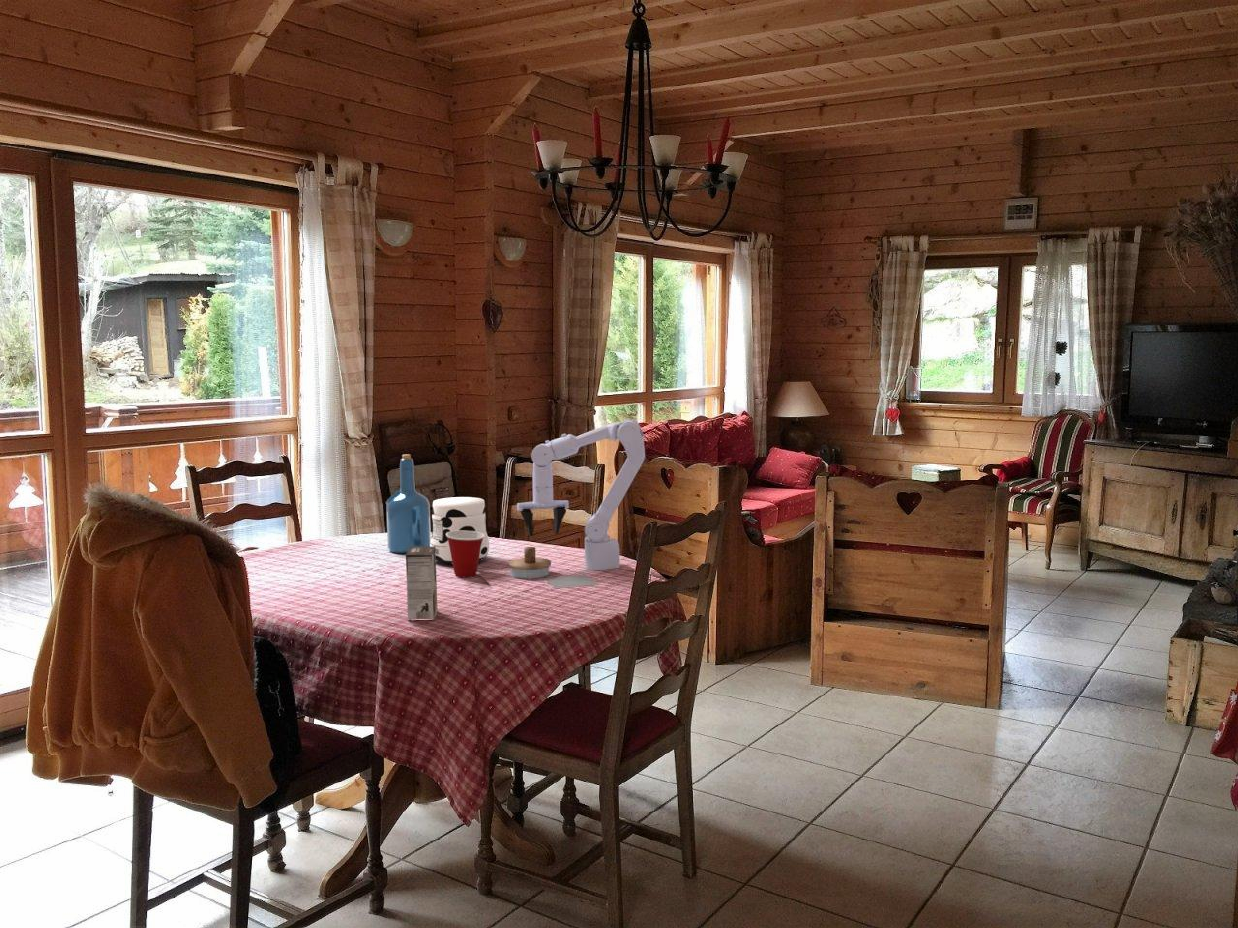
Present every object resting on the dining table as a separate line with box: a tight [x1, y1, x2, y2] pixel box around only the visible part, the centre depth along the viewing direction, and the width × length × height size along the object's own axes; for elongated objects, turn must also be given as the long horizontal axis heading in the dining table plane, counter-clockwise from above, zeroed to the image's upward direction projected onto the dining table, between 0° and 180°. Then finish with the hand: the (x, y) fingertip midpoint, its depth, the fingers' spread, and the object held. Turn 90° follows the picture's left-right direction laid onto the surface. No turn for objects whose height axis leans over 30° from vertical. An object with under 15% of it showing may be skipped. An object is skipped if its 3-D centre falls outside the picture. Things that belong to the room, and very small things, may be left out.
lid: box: [508, 546, 552, 570], centre depth 281 cm, size 12×12×5 cm
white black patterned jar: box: [430, 496, 490, 565], centre depth 302 cm, size 17×17×18 cm
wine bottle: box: [385, 453, 432, 555], centre depth 317 cm, size 14×13×30 cm
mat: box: [542, 574, 600, 589], centre depth 274 cm, size 12×12×1 cm
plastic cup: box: [446, 530, 485, 578], centre depth 284 cm, size 11×11×12 cm
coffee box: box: [405, 546, 439, 620], centre depth 244 cm, size 9×6×16 cm
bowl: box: [509, 567, 550, 579], centre depth 282 cm, size 10×10×4 cm
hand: (543, 534), depth 289 cm, fingers open, 7 cm apart
